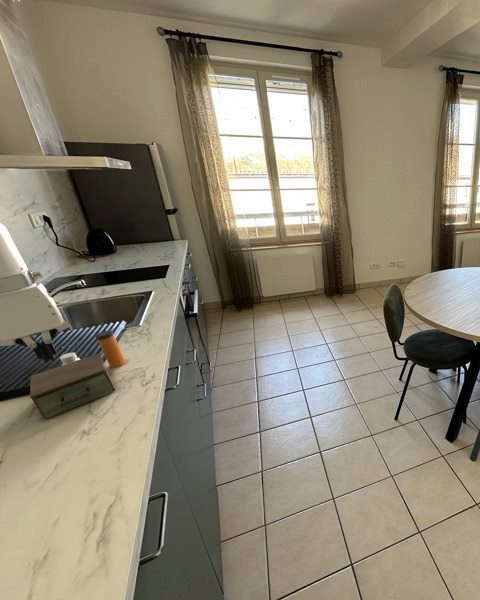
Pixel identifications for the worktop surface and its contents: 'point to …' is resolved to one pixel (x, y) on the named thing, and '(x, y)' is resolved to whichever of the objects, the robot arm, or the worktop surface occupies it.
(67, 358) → the pill bottle
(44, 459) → the worktop surface
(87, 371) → the cabinet
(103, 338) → the spice jar
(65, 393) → the drawer
